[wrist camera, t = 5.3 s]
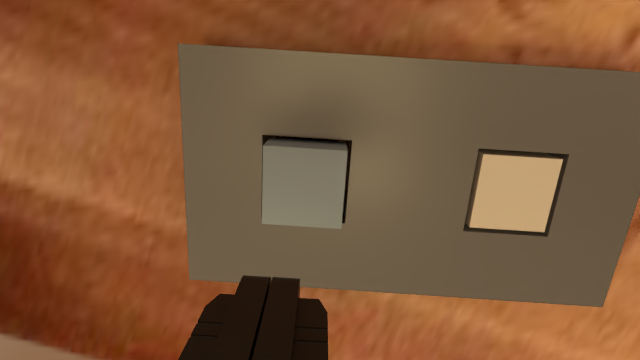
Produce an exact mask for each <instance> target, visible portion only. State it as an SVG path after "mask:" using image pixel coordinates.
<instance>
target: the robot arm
mask: <svg viewBox="0 0 640 360" xmlns="http://www.w3.org/2000/svg"><path fill="white" fill-rule="evenodd" d="M299 297H300V278H285V277H273V278H272V280H271V277H265V276H247V275H243V276H242V278H241V281H240V283H239V286H238V288H237V291H236V293H235V295H232V294H219V295H218V296H217V297H216V298H215V299H213V300H212V301H211V302H210V303H209V304H207V305H206V306H205V308H204V310H203V312H202V314H201V316H200V318H199V320H198V324H196V326H195V328H194V330H193V332H192V334H191V338H189V340H188V342H187V344H186V345H185V347H184V349H183V351H182V353H181V355H180V357H179V359H178V360H328V321H327V311H326V310H325V308H324V306H323V305H322V303H321V302H320V300H319V299H306V298H299Z"/></svg>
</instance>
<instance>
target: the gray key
mask: <svg viewBox="0 0 640 360" xmlns="http://www.w3.org/2000/svg"><path fill="white" fill-rule="evenodd" d="M347 154H348V150H347V145H346V142H331V141H316V140H300V139H284V138H270V139H269V140H268V141H267V142H266V143H265V144H264V145H263V180H262V224H273V225H288V226H303V227H318V228H333V229H341V227H342V214H343V202H344V190H345V178H346V166H347Z"/></svg>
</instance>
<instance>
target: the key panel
mask: <svg viewBox="0 0 640 360" xmlns="http://www.w3.org/2000/svg"><path fill="white" fill-rule="evenodd" d="M178 59H179V79H180V99H181V119H182V139H183V160H184V180H185V200H186V220H187V240H188V260H189V279H192V280H206V281H221V282H236V283H240V281H241V278H242V276H243V275H247V276H265V277H271V280H272V278H273V277H285V278H300V287H311V288H325V289H340V290H355V291H370V292H385V293H400V294H415V295H430V296H444V297H459V298H474V299H489V300H504V301H519V302H534V303H549V304H563V305H578V306H593V307H603V304H604V301H605V298H606V295H607V292H608V289H609V286H610V283H611V280H612V277H613V274H614V271H615V268H616V265H617V262H618V259H619V256H620V253H621V250H622V247H623V244H624V241H625V238H626V235H627V232H628V229H629V226H630V223H631V220H632V217H633V214H634V211H635V208H636V205H637V202H638V199H639V196H640V72H631V71H615V70H599V69H582V68H566V67H550V66H534V65H518V64H501V63H485V62H469V61H453V60H437V59H420V58H404V57H388V56H372V55H356V54H339V53H323V52H307V51H291V50H275V49H259V48H242V47H226V46H210V45H194V44H178ZM273 135H276V136H291V137H307V138H323V139H338V140H348V144H347V150H348V154H347V166H346V178H345V190H344V202H343V214H342V227H341V229H333V228H318V227H303V226H288V225H273V224H262V180H263V145H264V144H265V143H266V142H267V141H268V140H269V139H270V138H273ZM479 149H495V150H511V151H527V152H542V153H547V154H550V155H553V156H555V157H558V158H561V159H563V162H562V166H561V170H560V174H559V177H558V181H557V185H556V189H555V193H554V197H553V201H552V205H551V208H550V212H549V216H548V220H547V224H546V228H545V232H533V231H518V230H503V229H488V228H472V227H469V226H468V225H467V224H466V223H465V219H466V213H467V208H468V203H469V197H470V192H471V187H472V181H473V176H474V171H475V165H476V160H477V155H478V150H479Z"/></svg>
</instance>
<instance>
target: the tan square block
mask: <svg viewBox="0 0 640 360" xmlns="http://www.w3.org/2000/svg"><path fill="white" fill-rule="evenodd" d="M562 162H563V159H561V158H558V157H555V156H553V155H550V154H547V153H542V152H527V151H511V150H495V149H479V150H478V155H477V160H476V165H475V171H474V176H473V181H472V187H471V192H470V197H469V203H468V208H467V213H466V219H465V223H466V224H467V225H468V226H469V227H472V228H488V229H503V230H518V231H533V232H545V228H546V224H547V220H548V216H549V212H550V208H551V205H552V201H553V197H554V193H555V189H556V185H557V181H558V177H559V174H560V170H561V166H562Z"/></svg>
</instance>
